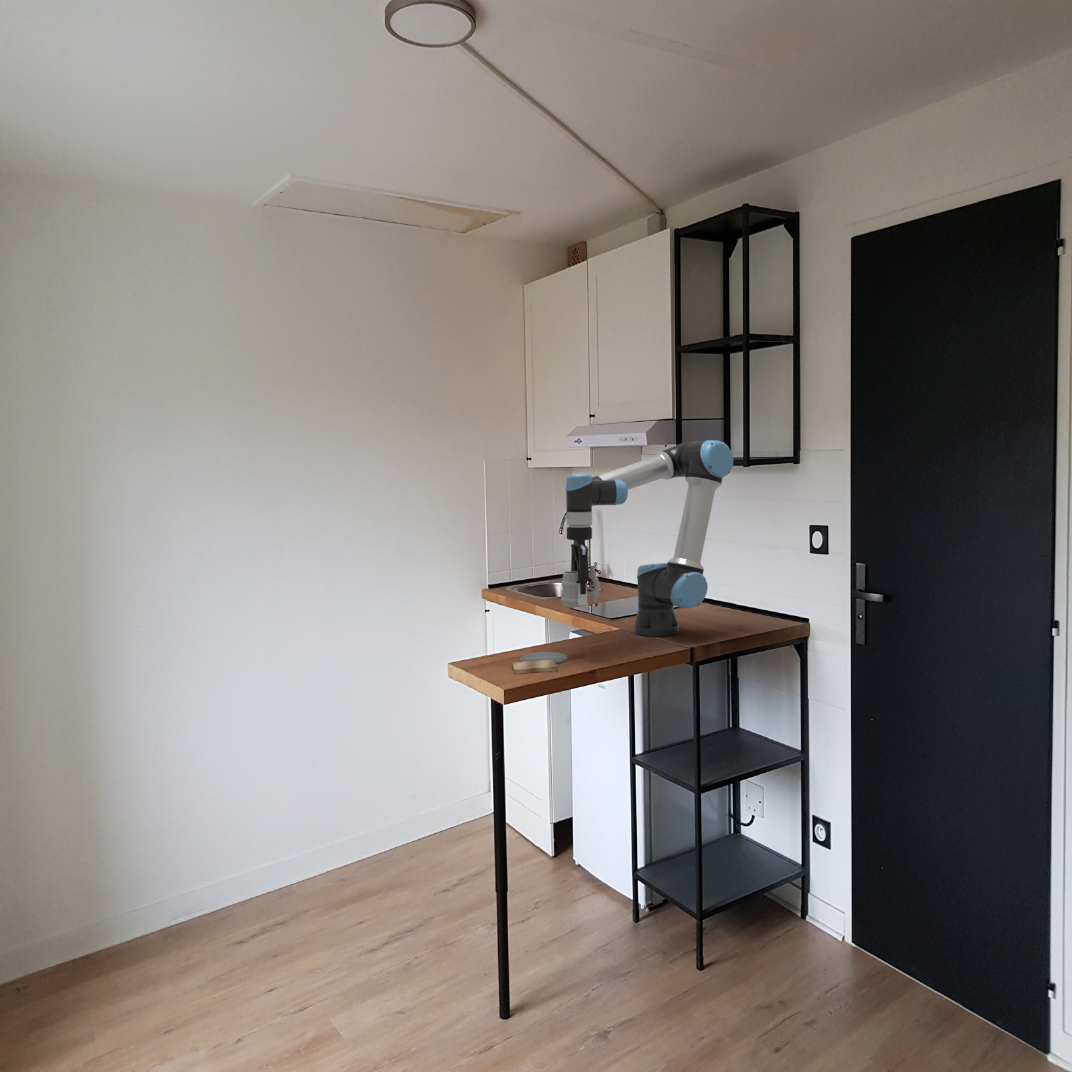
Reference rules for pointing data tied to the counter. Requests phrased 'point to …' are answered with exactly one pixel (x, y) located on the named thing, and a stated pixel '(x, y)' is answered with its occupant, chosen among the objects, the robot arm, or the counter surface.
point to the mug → (571, 588)
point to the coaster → (544, 657)
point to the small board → (534, 666)
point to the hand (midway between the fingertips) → (579, 602)
